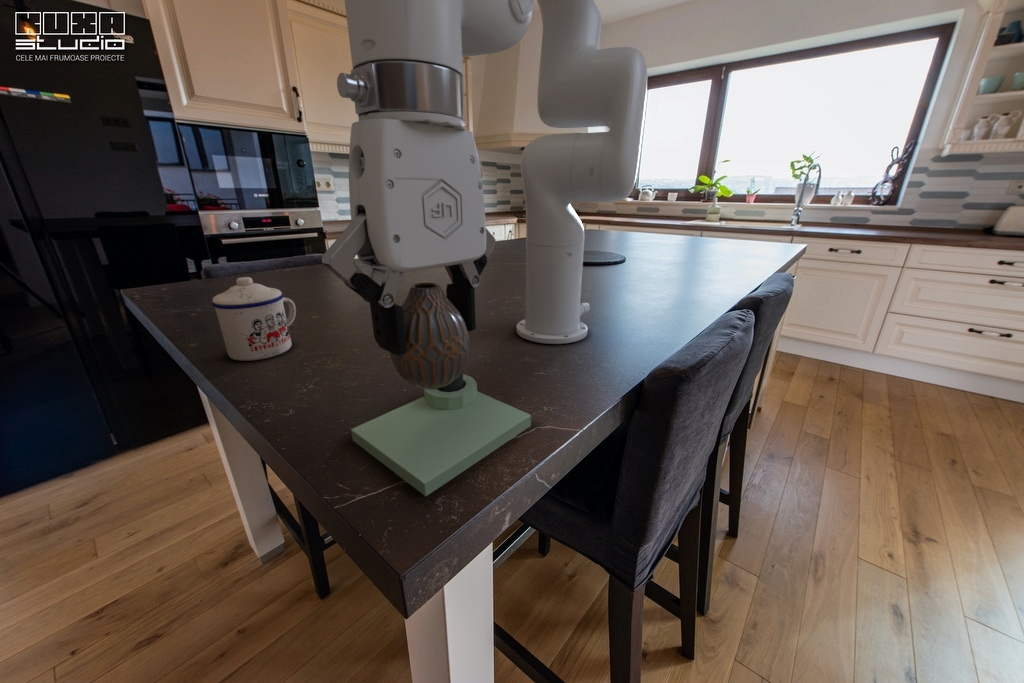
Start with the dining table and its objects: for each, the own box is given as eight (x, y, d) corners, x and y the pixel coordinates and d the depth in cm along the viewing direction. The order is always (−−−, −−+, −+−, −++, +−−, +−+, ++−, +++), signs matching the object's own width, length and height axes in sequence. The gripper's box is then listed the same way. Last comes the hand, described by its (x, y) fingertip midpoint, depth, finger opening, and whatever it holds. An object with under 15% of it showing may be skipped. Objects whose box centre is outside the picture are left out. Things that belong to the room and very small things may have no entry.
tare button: (451, 379, 47) (451, 365, 47) (468, 386, 45) (468, 372, 45) (431, 387, 45) (430, 374, 45) (448, 396, 43) (448, 382, 43)
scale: (454, 390, 50) (453, 368, 49) (531, 426, 42) (531, 401, 41) (350, 439, 40) (346, 413, 39) (425, 497, 33) (422, 467, 32)
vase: (455, 401, 32) (450, 297, 29) (379, 393, 34) (365, 292, 31) (479, 367, 39) (476, 278, 36) (413, 361, 40) (405, 275, 37)
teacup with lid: (256, 366, 57) (236, 286, 53) (212, 357, 60) (190, 282, 56) (320, 338, 68) (307, 271, 63) (280, 332, 70) (265, 267, 66)
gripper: (313, 71, 20) (360, 385, 26) (528, 117, 32) (525, 324, 39) (259, 93, 25) (311, 356, 31) (465, 126, 37) (472, 310, 43)
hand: (429, 336), depth 35 cm, fingers closed on vase, 6 cm apart
